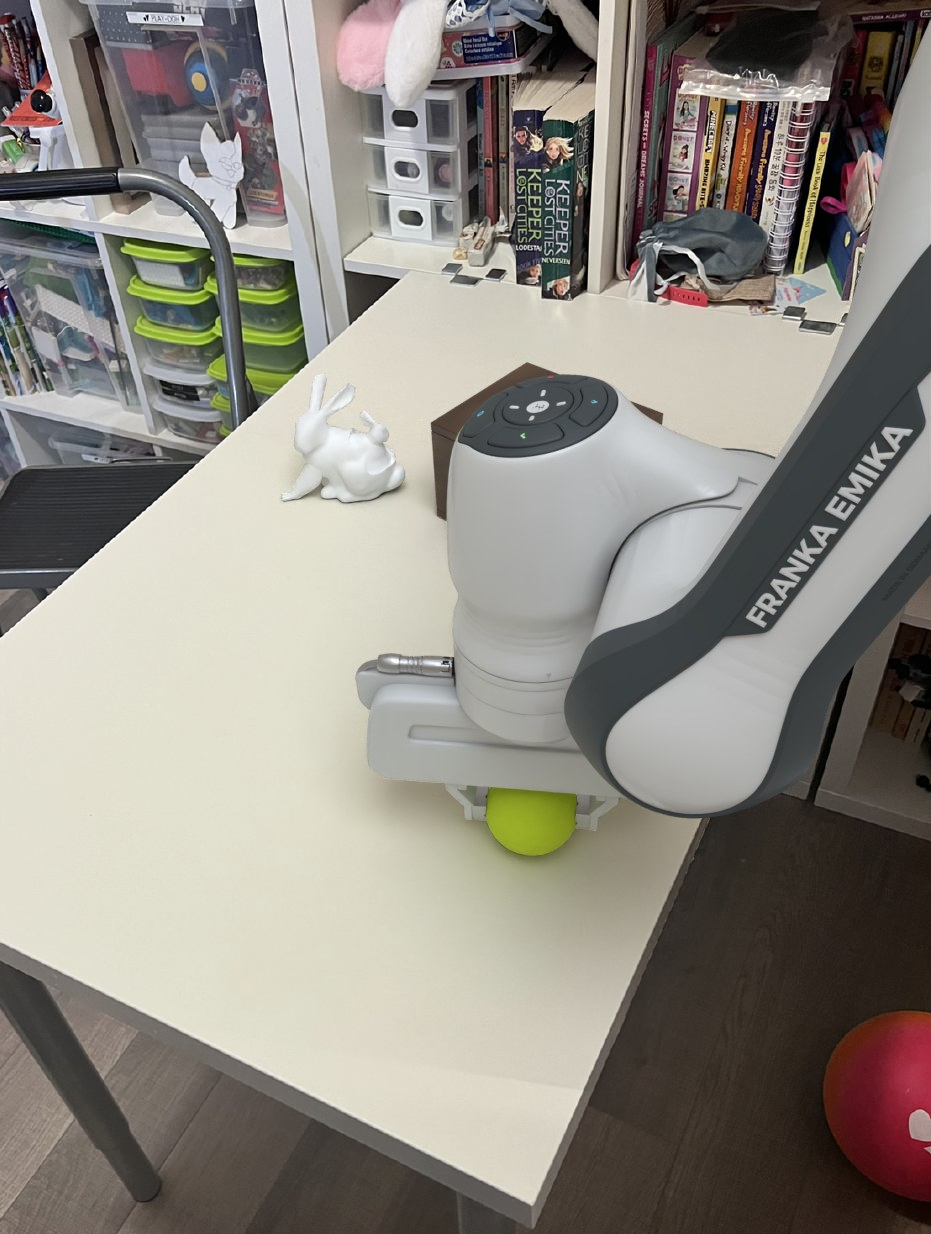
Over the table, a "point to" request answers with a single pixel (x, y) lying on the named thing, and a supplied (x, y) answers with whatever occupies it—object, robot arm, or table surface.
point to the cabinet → (453, 420)
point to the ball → (530, 819)
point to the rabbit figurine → (342, 452)
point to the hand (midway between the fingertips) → (532, 817)
